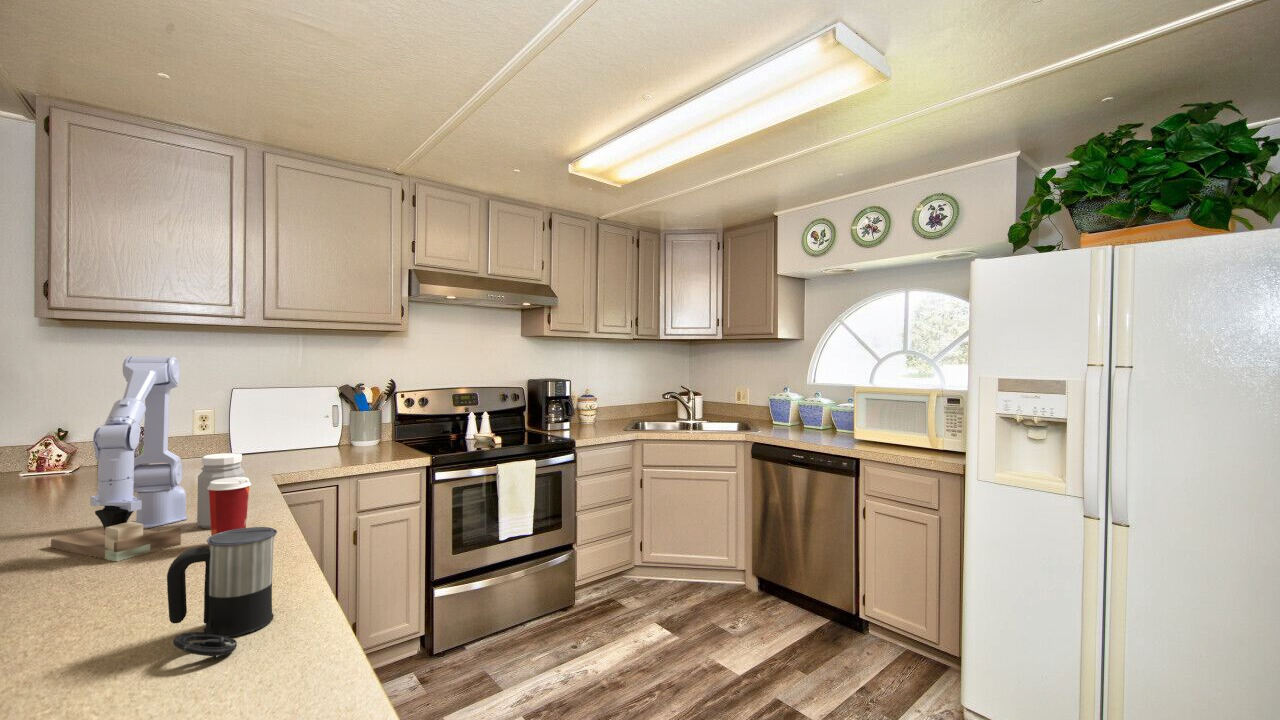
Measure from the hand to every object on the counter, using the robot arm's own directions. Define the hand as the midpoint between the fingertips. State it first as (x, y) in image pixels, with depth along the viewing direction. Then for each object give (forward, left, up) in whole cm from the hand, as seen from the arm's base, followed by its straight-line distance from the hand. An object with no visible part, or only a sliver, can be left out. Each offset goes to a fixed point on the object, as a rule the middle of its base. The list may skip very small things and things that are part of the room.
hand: (114, 540), depth 120 cm
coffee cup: (-13, +17, -3) cm, 21 cm away
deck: (-3, -5, -3) cm, 7 cm away
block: (0, +3, -1) cm, 3 cm away
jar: (-23, -1, -3) cm, 23 cm away
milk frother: (+16, +61, -3) cm, 63 cm away
